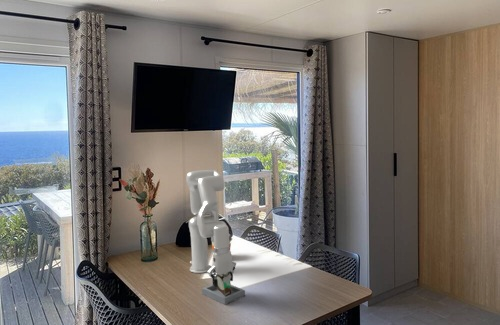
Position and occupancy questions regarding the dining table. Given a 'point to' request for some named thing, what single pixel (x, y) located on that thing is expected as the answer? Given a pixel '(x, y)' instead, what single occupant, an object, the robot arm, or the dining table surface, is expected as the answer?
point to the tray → (216, 295)
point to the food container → (224, 284)
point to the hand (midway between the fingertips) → (223, 283)
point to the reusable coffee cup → (213, 242)
